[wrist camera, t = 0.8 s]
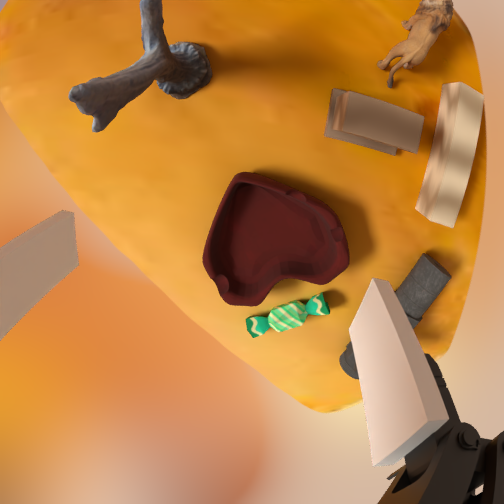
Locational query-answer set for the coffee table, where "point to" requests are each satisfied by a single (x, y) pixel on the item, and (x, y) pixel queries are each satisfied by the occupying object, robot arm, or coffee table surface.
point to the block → (451, 153)
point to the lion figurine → (419, 35)
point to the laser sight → (410, 300)
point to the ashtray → (271, 240)
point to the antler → (145, 72)
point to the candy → (287, 316)
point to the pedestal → (372, 123)
